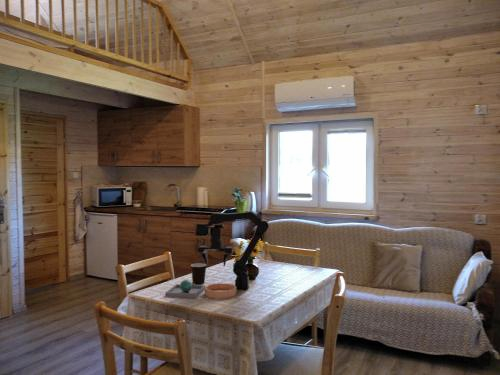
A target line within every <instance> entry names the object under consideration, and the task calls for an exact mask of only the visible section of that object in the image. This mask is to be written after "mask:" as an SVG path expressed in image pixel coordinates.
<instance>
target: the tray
mask: <svg viewBox="0 0 500 375" xmlns="http://www.w3.org/2000/svg"><path fill="white" fill-rule="evenodd" d="M180 284H181V283H176V284H174V285H173V286H172V287H170V288H169V289H168V290H167V291H165V292H164V297H166V296H167V297H168V298H169V297H173V298H189V299H197V298H198V297H199V296H200V295H201V294H203V292H205V287H206V285H204V284H199V285H197V284H192V288H191V290H190V291H188V292H183V291H182V290H181V289H180ZM167 297H166V298H167Z"/></svg>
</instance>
